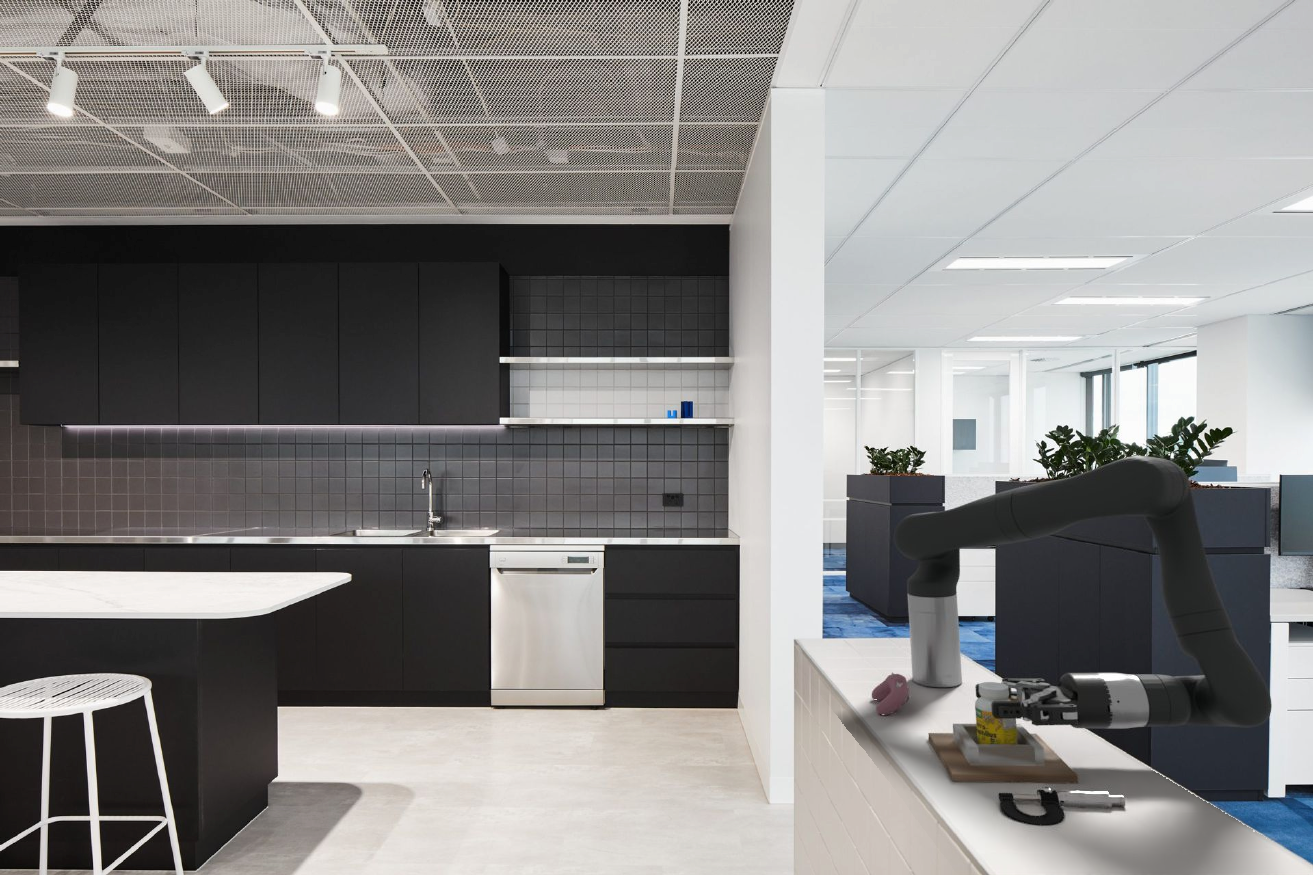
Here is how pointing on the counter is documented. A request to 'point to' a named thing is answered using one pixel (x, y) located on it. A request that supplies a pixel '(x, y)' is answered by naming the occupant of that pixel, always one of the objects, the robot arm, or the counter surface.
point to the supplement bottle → (987, 724)
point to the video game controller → (891, 694)
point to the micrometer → (1056, 804)
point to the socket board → (999, 758)
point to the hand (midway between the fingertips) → (984, 700)
